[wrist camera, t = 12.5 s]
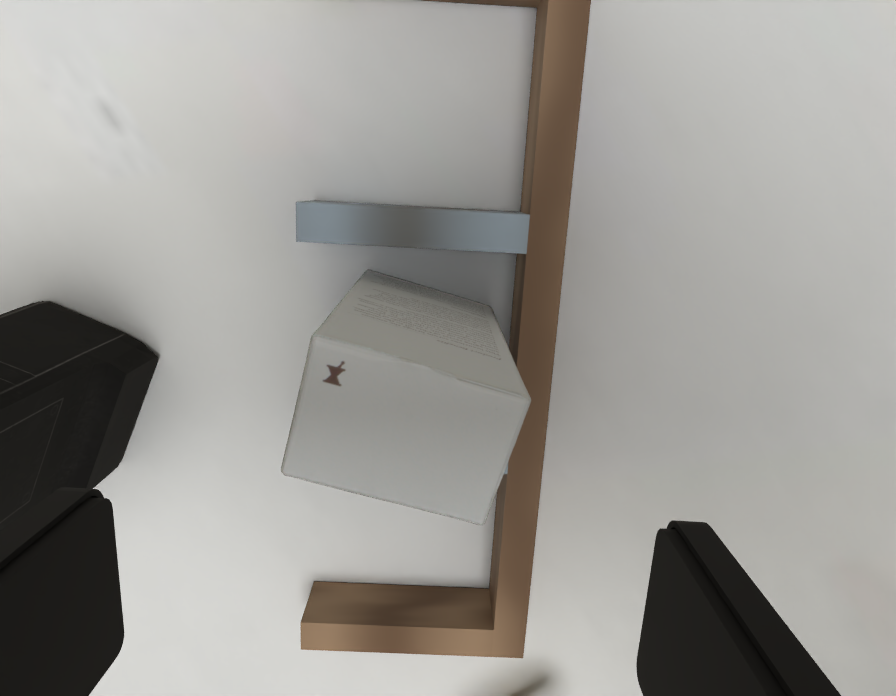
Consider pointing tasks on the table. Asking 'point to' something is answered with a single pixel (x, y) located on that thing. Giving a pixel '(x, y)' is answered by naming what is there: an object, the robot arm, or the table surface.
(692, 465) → the table surface
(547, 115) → the slot rack
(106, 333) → the portable radio
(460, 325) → the skincare box
